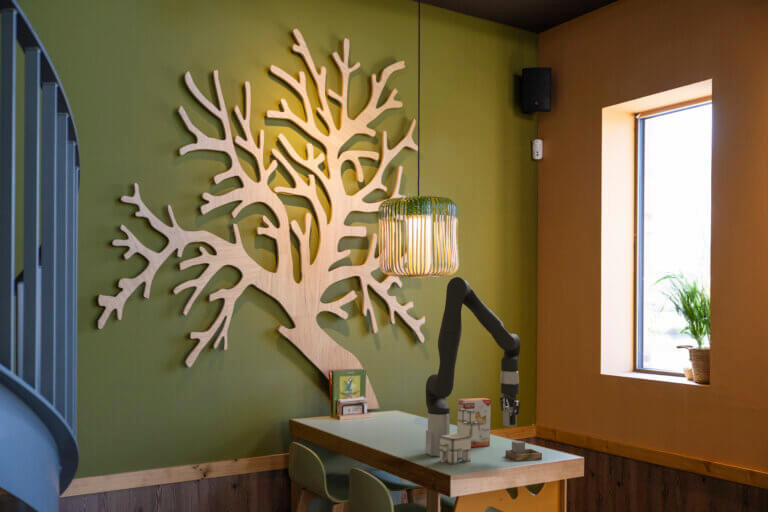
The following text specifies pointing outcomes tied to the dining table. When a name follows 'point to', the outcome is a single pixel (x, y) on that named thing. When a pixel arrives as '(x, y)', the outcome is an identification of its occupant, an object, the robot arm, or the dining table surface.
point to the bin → (524, 455)
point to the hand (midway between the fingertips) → (509, 423)
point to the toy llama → (460, 439)
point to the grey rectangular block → (518, 447)
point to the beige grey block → (508, 419)
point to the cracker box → (479, 417)
